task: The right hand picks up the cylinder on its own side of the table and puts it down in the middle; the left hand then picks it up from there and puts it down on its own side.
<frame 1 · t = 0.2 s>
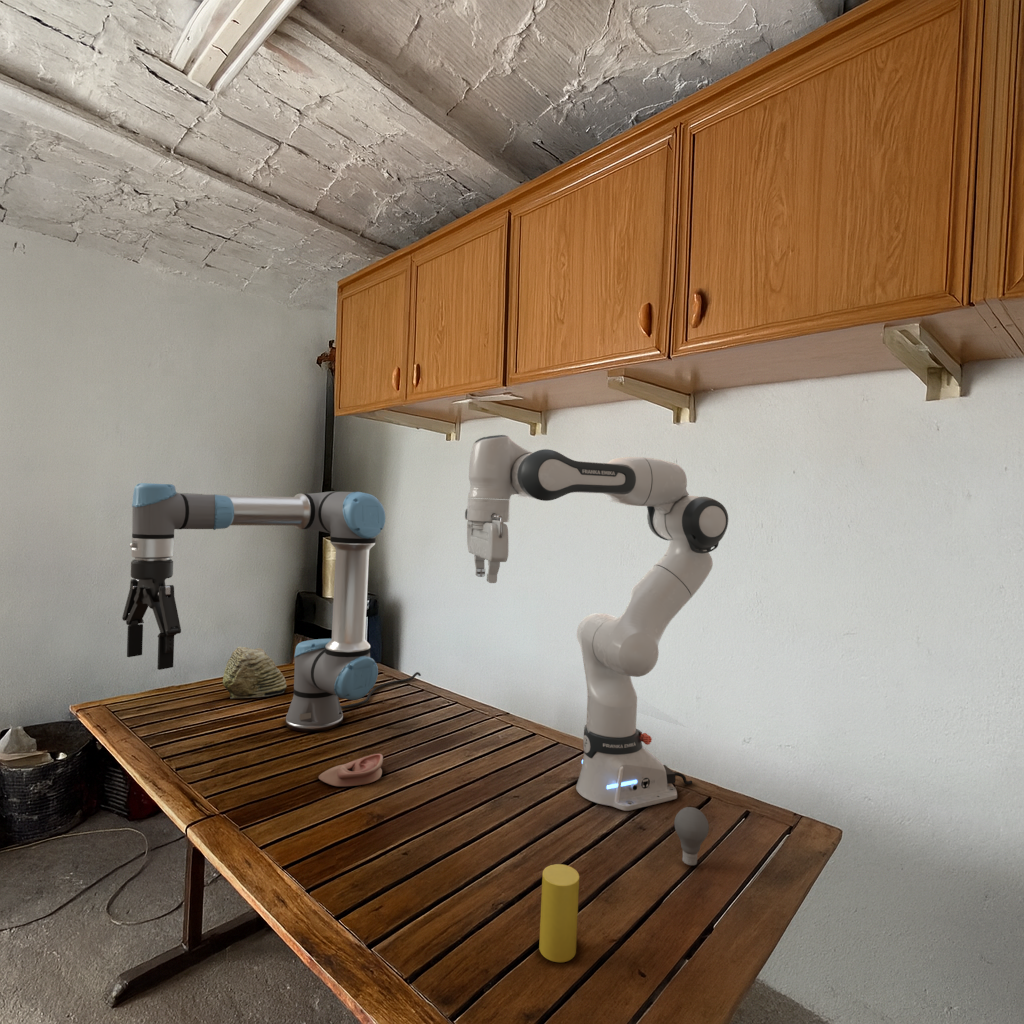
left hand: (149, 662, 130), 28 cm above the table, tool pointing down, fingers open, 13 cm apart
right hand: (485, 579, 132), 48 cm above the table, tool pointing down, fingers open, 8 cm apart
anatomical model: (351, 777, 144), on the table
light bulb: (689, 864, 114), on the table
cylinder: (557, 949, 91), on the table
fossil: (254, 694, 198), on the table
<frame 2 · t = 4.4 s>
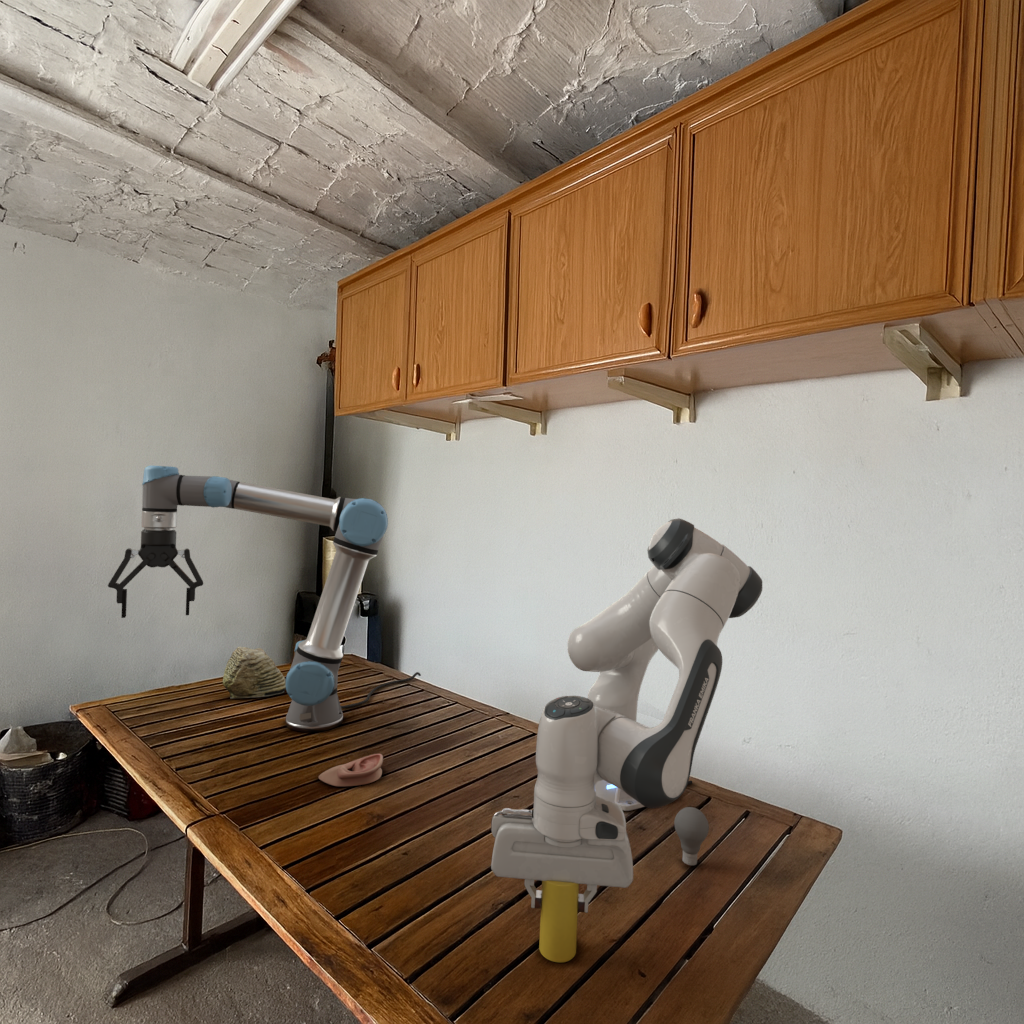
left hand: (156, 615, 155), 32 cm above the table, tool pointing down, fingers open, 13 cm apart
right hand: (559, 908, 91), 6 cm above the table, tool pointing down, fingers closed on cylinder, 5 cm apart
cylinder: (557, 949, 91), on the table, touching right hand
everything else where it was.
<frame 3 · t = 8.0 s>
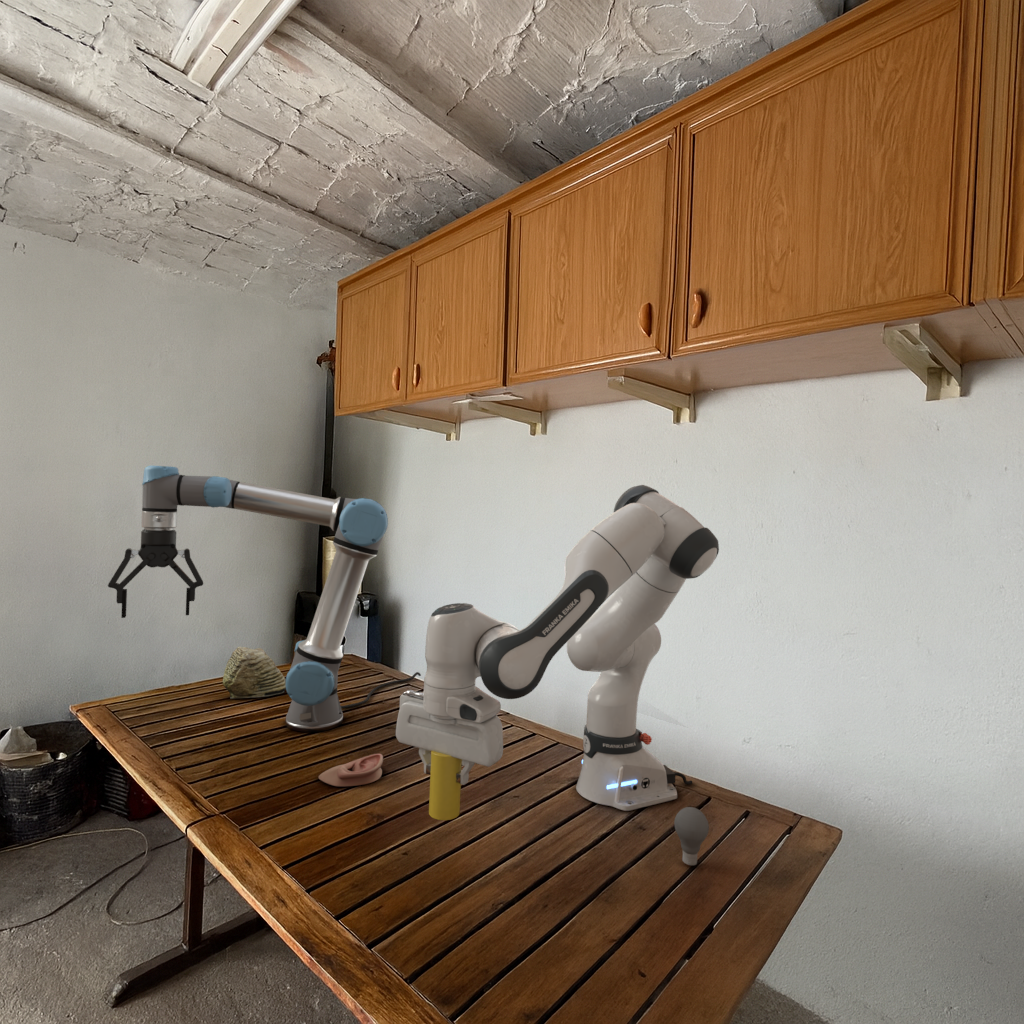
left hand: (156, 615, 155), 32 cm above the table, tool pointing down, fingers open, 13 cm apart
right hand: (446, 778, 109), 16 cm above the table, tool pointing down, fingers closed on cylinder, 5 cm apart
cylinder: (444, 812, 109), point 10 cm above the table, touching right hand
everything else where it was.
when the right hand's fingers open (7 cm above the table, at t = 11.6 s): cylinder stays where it is, on the table.
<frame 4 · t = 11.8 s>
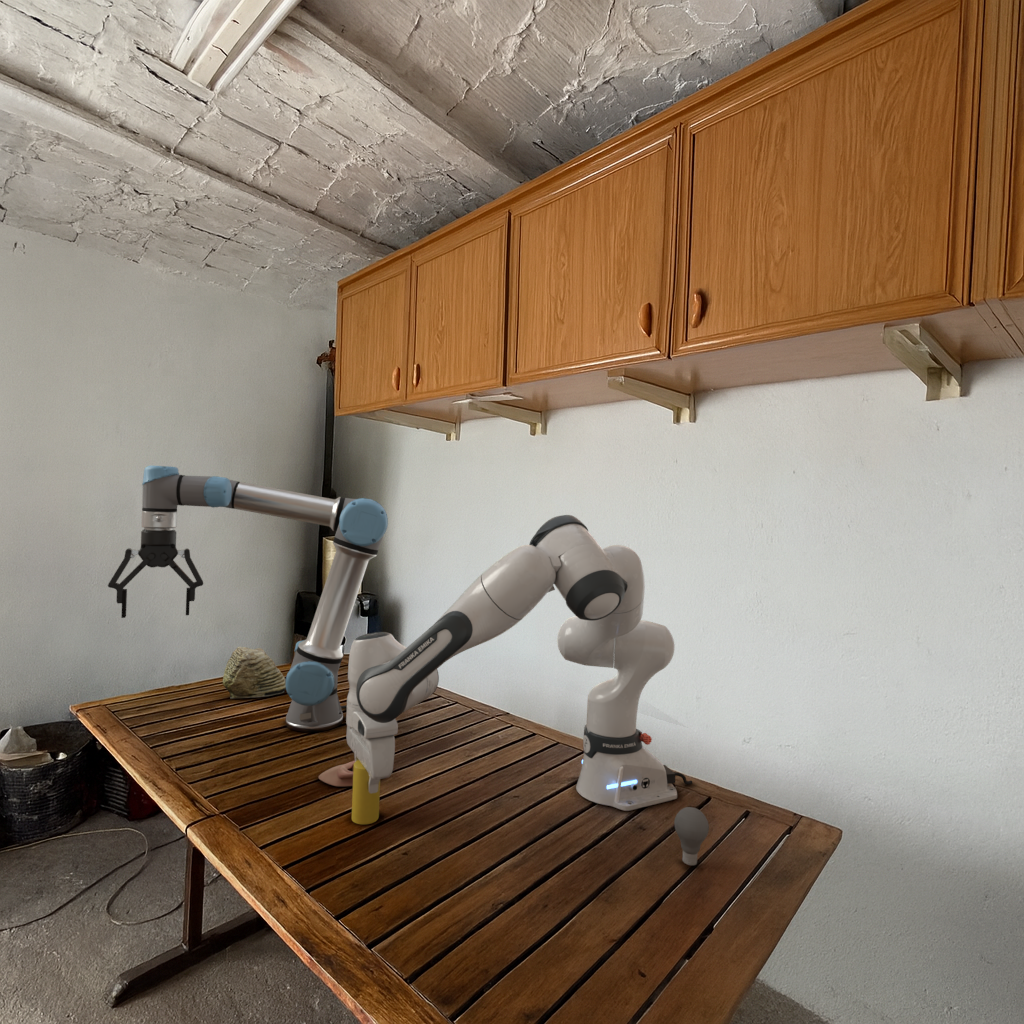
left hand: (156, 615, 155), 32 cm above the table, tool pointing down, fingers open, 13 cm apart
right hand: (366, 782, 126), 7 cm above the table, tool pointing down, fingers open, 7 cm apart
cylinder: (365, 817, 126), on the table
everything else where it was.
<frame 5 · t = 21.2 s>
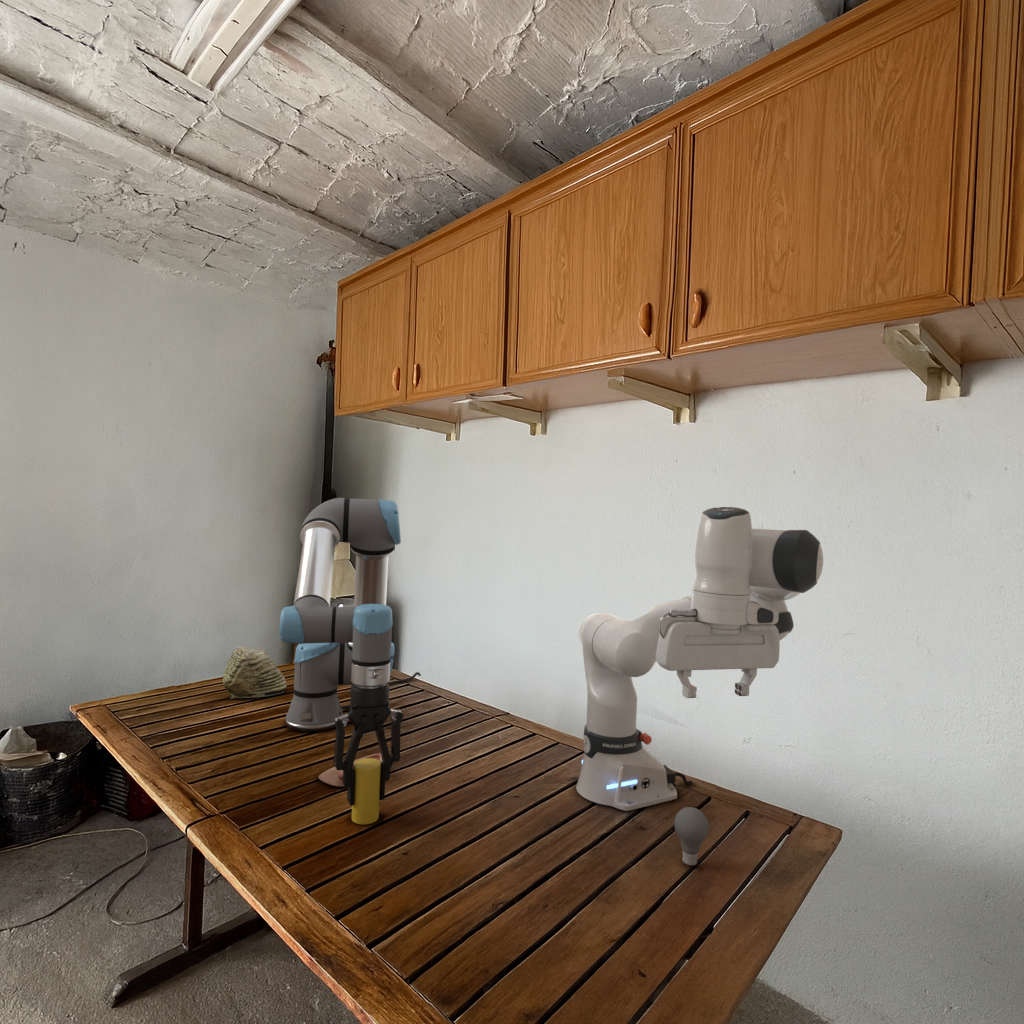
left hand: (365, 799, 126), 4 cm above the table, tool pointing down, fingers closed on cylinder, 5 cm apart
right hand: (715, 696, 101), 35 cm above the table, tool pointing down, fingers open, 8 cm apart
cylinder: (365, 817, 126), on the table, touching left hand
everything else where it was.
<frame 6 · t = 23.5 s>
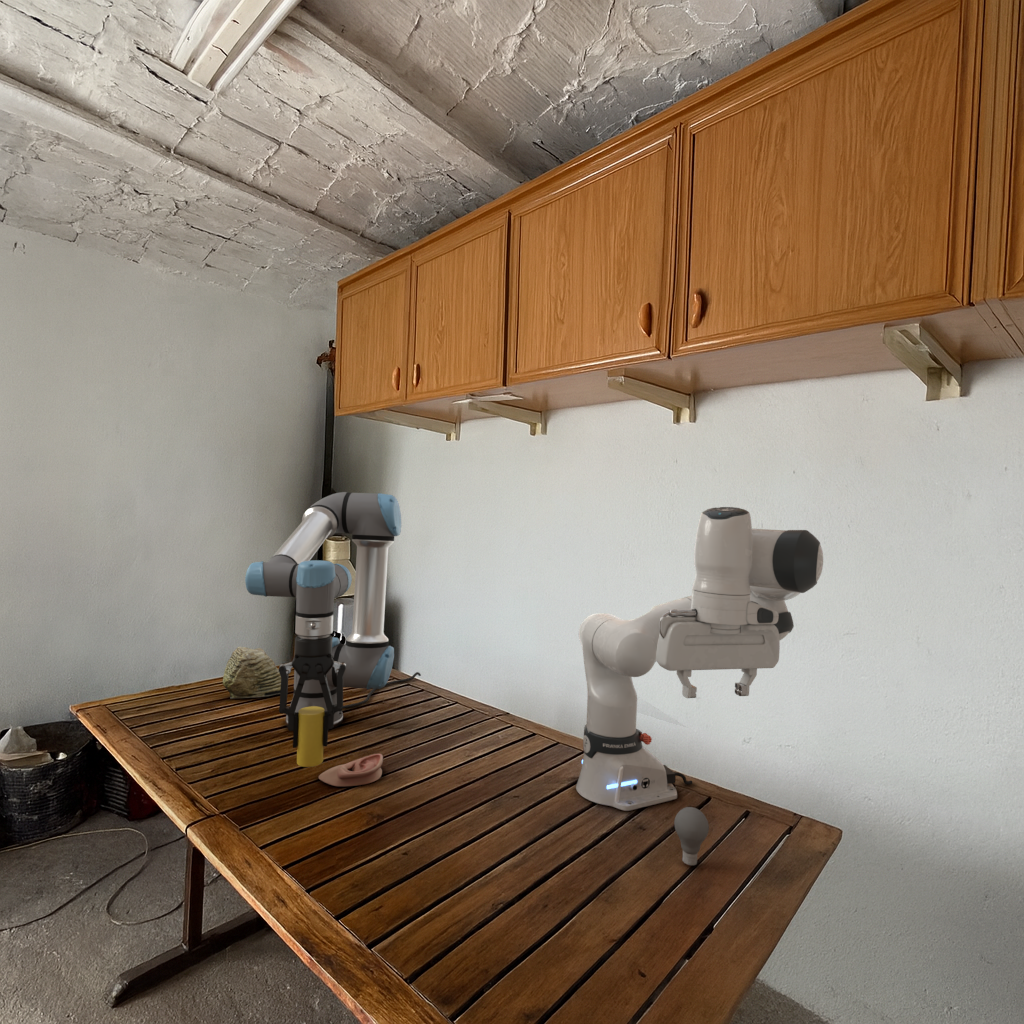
left hand: (310, 744, 133), 11 cm above the table, tool pointing down, fingers closed on cylinder, 5 cm apart
right hand: (715, 696, 101), 35 cm above the table, tool pointing down, fingers open, 8 cm apart
cylinder: (310, 761, 133), point 8 cm above the table, touching left hand
everything else where it was.
when the left hand's fingers open (5 cm above the table, at t = 25.7 s): cylinder stays where it is, on the table.
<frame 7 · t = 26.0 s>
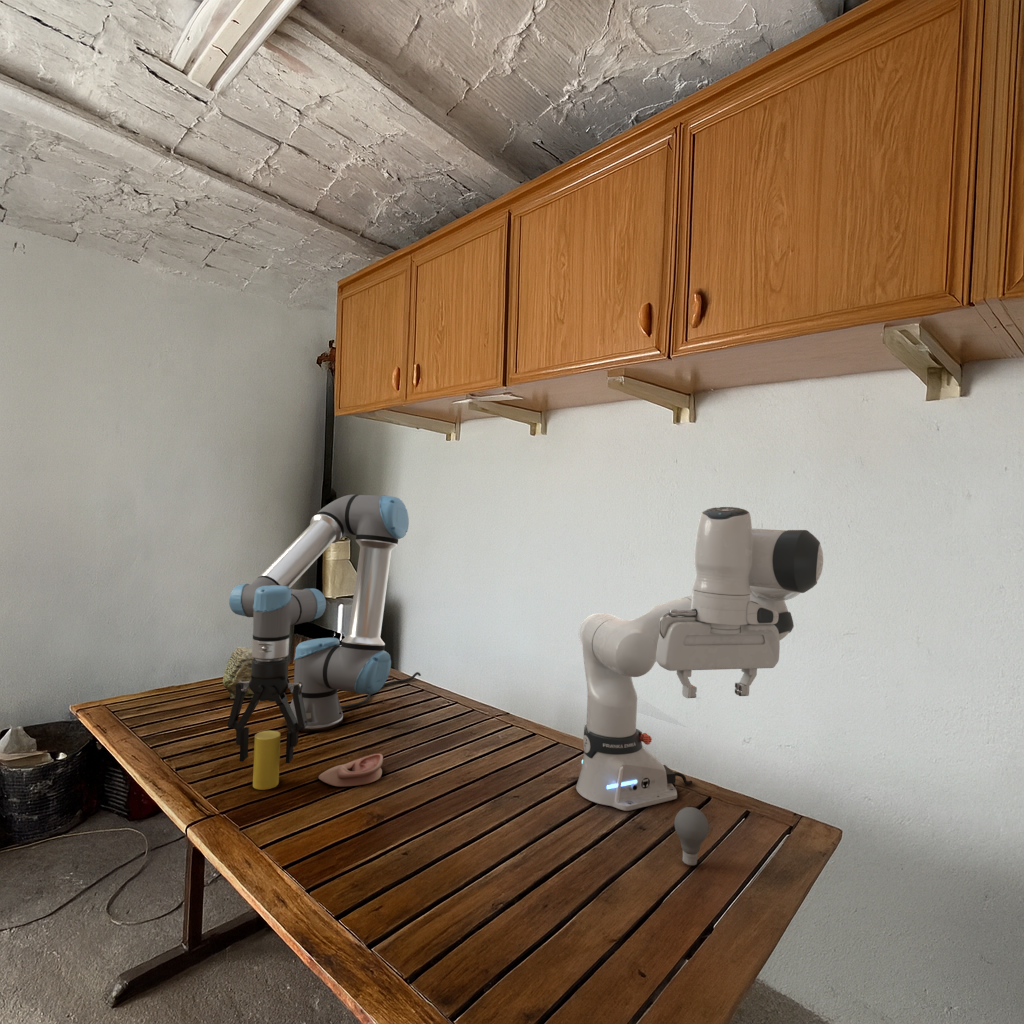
left hand: (266, 759, 138), 5 cm above the table, tool pointing down, fingers open, 9 cm apart
right hand: (715, 696, 101), 35 cm above the table, tool pointing down, fingers open, 8 cm apart
cylinder: (265, 784, 138), on the table
everything else where it was.
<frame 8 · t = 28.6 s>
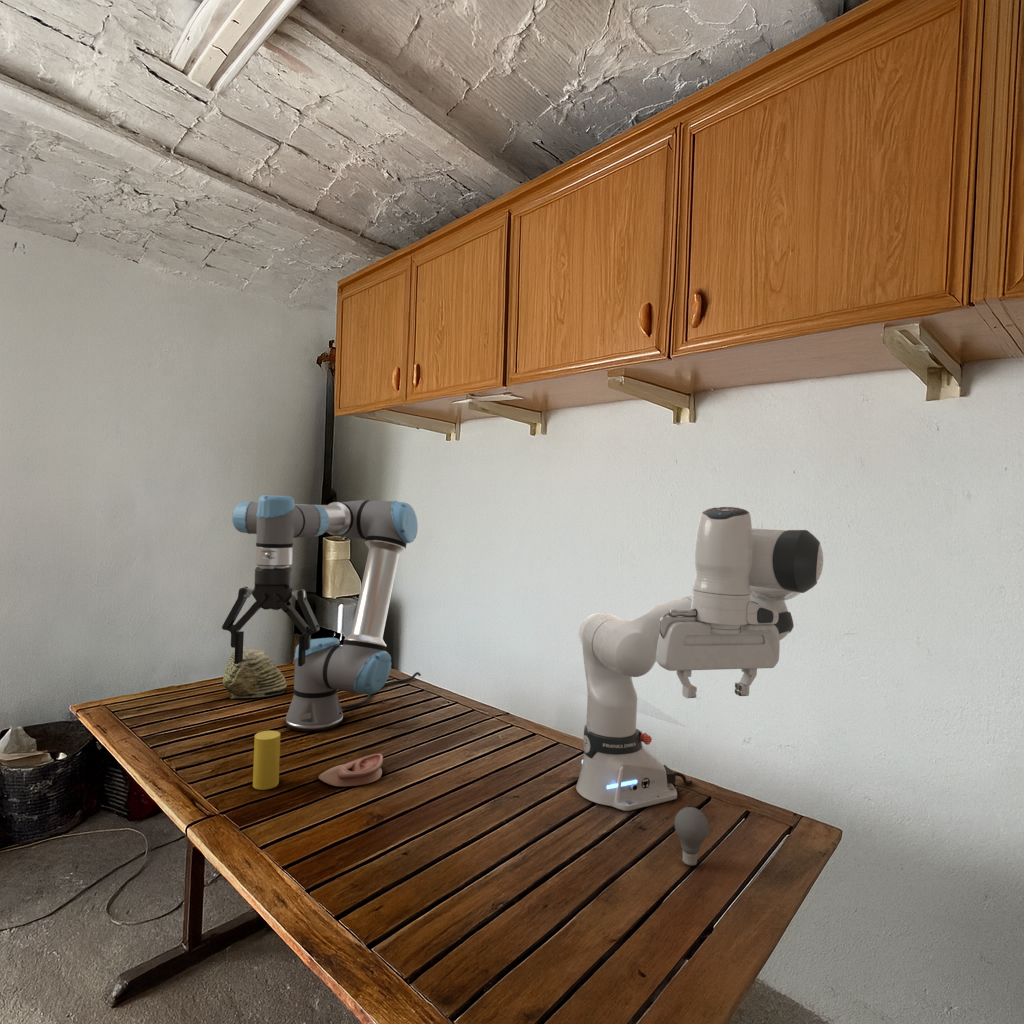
left hand: (270, 663, 138), 26 cm above the table, tool pointing down, fingers open, 13 cm apart
right hand: (715, 696, 101), 35 cm above the table, tool pointing down, fingers open, 8 cm apart
nothing on the table moved.
at the end: cylinder inside the target area (0.1 cm from its centre), on the table; cylinder tilted 0°; the two hands never held the cylinder at the same time; the left hand is holding nothing; the right hand is holding nothing; cylinder at rest at the end (0.0 cm/s) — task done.
